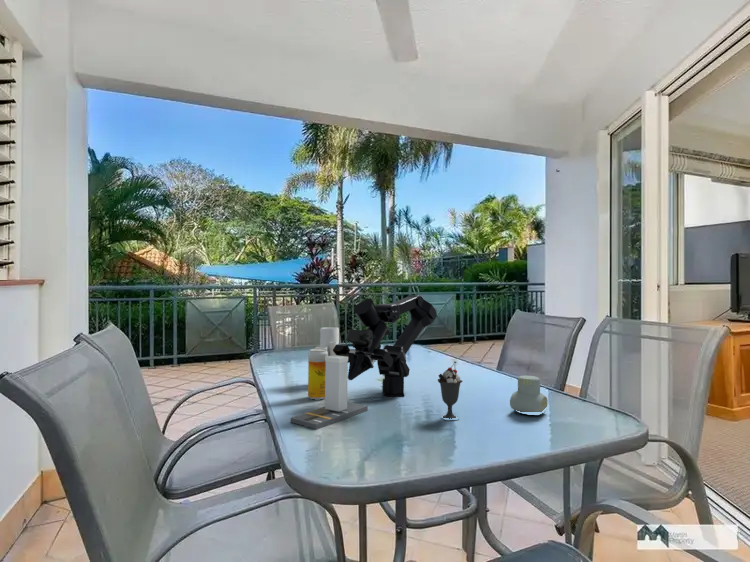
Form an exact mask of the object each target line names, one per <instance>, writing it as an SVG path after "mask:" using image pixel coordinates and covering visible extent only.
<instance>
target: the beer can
mask: <svg viewBox="0 0 750 562" xmlns="http://www.w3.org/2000/svg"><path fill="white" fill-rule="evenodd" d="M326 356H328V352H327V350H326V349H315V348H312V349H311V348H310V349H309V352H308V361H307V362H308V363H307V365H308V368H307V369H308V371H307V373H308V375H307V377H308V378H307V380H308V381H307V397H308V398H309V399H310V400H312V399H315V400H314V401H321V400H320V399H323V400H325V372H326V361H325V357H326Z"/></svg>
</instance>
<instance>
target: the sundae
mask: <svg viewBox="0 0 750 562" xmlns="http://www.w3.org/2000/svg"><path fill="white" fill-rule="evenodd" d="M455 364H457V361H454V362H453V365H451V366H450V367H448V368H447V369H446V370H444V371H443V373H440V374H438V379H437V382H438V384H439V385H440V393H441V399H442V402H443V403H444V404H445V405H446V406H447V412H446V414H444V416H443V415H442V416H443V418H449V419H450V418H451V419H452V418H456V415H455V414H454V413H453V406H454V405H456V403H457V402H458V399H459V395H460V387H461V384H462V383H463V380H462V379H461V377H460V375H459V374H458V370H457V368H454V369H452V367H453V366H455Z"/></svg>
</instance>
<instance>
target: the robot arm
mask: <svg viewBox="0 0 750 562" xmlns="http://www.w3.org/2000/svg"><path fill="white" fill-rule="evenodd" d="M353 312H354V313H355V315H356V317H357V318H358V320H359V322H360V323H361V325H362V326H363V327H366V328H365V329H364V330H360V329H352V328H350V329H348V331H347V335H346V338H345V340H346V341H347V342H349V343H351V346H352V348H350V347H349V345H348V344H343V343H342V344H341V343H340V344H337V345H335V347H334V349H333V352H334V353H335V354H336V355H338V356H346V357H348V365H349V366H348V377H347V380H349V381H353V380H354V379H356V378H357V377H358V376H360V375H362V374H363V373H365V372H367V371H369V370H370V369H374V368H375V367H374V363H375V362H377V363H376V364H377V368H378V373H379V375H383V376H384V378H383V379H382V393H383V396H384V397H405V378H408V377H409V376H410V367H409V366H408V364H407V357H406V355H407V353H408V351H409V350H410V348H411V347H412V345H413V344H414V342H415V341H416V340H417V338H418V336H419V335H420V333H421V332H422V330H423V329H424V328H426V327H428V326H430V325H431V324H432V323H433V322H434V321H435V320H436V319H437V314H438V313H437V309H436V308H435V306H433V304H432V303H431V302H428V301H427V300H425V298H424V297H422V296H421V295H417V294H415V295H413V294H412V295H411V294H410V295H407V296H406V297H403V298H402V299H399V300H396V301H394V302H391V303H378V304H376V305H375V303H374V301H373V298H365V299H364V300H363V301H361V302H359V303H358V304H356V305H355V307H354V309H353ZM407 312H408V313H409V314H410V321H409V323H408V324H407V325H406V327H405V328H404V330H403V331H402V333H401V334H400V336H399V337H398V339H397V340H396V341H395V343H394V344H393V345H388V344H385V346H384V347H383V348H382V345H381V342H382V340H383V338H384V337H385V336H390V335H391V331H390V330H389V326H388V325H387V324H394V323H396V322H397V321H398V320H399V319H401V318H400V317H401V315H403V314H405V313H407Z"/></svg>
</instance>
